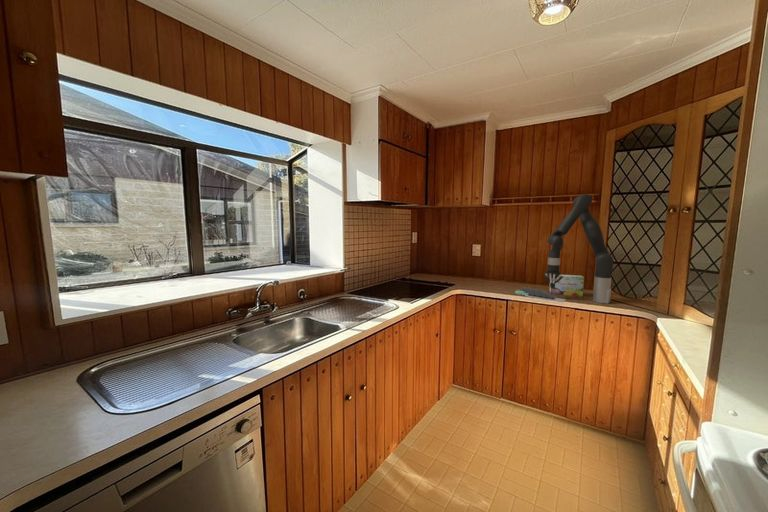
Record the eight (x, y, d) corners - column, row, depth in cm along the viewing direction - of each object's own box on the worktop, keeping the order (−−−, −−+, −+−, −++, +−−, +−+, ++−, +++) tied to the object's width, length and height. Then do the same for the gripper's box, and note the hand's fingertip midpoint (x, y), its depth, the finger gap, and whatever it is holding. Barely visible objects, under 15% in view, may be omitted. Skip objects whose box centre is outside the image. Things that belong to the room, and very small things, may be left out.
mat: (566, 299, 213) (566, 299, 213) (562, 302, 206) (562, 302, 206) (528, 293, 232) (528, 293, 232) (523, 296, 225) (523, 295, 225)
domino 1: (531, 292, 228) (517, 290, 235) (528, 293, 224) (514, 291, 232) (530, 294, 228) (517, 292, 235) (528, 295, 225) (514, 293, 232)
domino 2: (536, 293, 225) (524, 286, 231) (534, 294, 221) (521, 287, 227) (535, 295, 226) (523, 288, 232) (533, 296, 222) (520, 289, 228)
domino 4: (548, 295, 219) (535, 288, 225) (546, 296, 216) (533, 289, 222) (547, 297, 220) (534, 289, 226) (545, 298, 216) (532, 290, 222)
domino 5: (554, 296, 216) (541, 288, 222) (552, 297, 213) (539, 290, 219) (553, 298, 217) (540, 290, 223) (551, 299, 213) (537, 291, 219)
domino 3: (542, 294, 222) (530, 287, 228) (540, 295, 219) (527, 288, 225) (541, 296, 223) (529, 288, 229) (539, 297, 219) (526, 290, 225)
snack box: (550, 294, 228) (551, 275, 226) (549, 293, 234) (550, 273, 232) (582, 296, 222) (584, 276, 220) (580, 294, 227) (581, 275, 226)
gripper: (566, 264, 210) (564, 288, 212) (545, 262, 220) (544, 285, 222) (562, 265, 205) (561, 290, 207) (541, 263, 215) (540, 287, 217)
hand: (552, 288), depth 215 cm, fingers closed
